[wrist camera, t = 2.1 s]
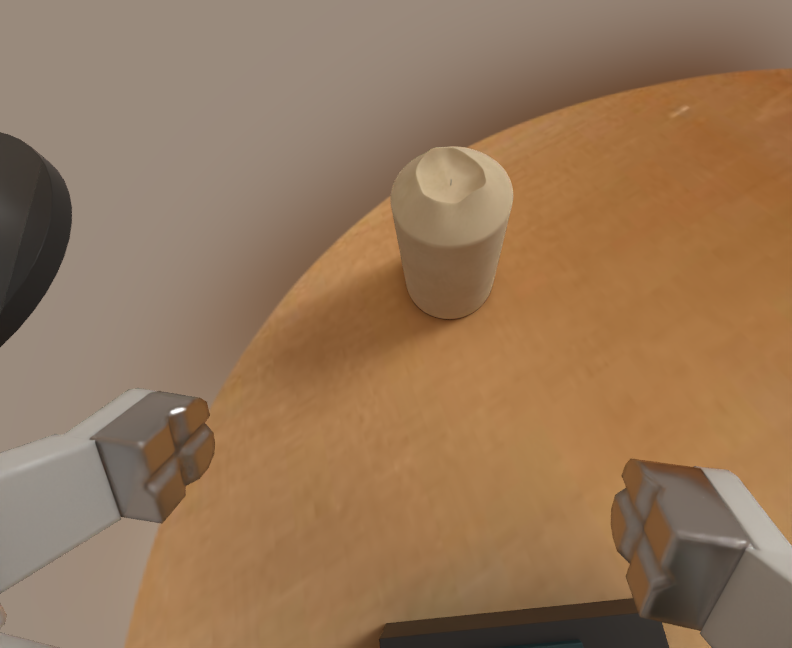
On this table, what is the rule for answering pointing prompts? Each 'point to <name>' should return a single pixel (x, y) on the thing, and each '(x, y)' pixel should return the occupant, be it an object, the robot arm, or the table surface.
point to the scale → (534, 629)
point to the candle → (451, 228)
